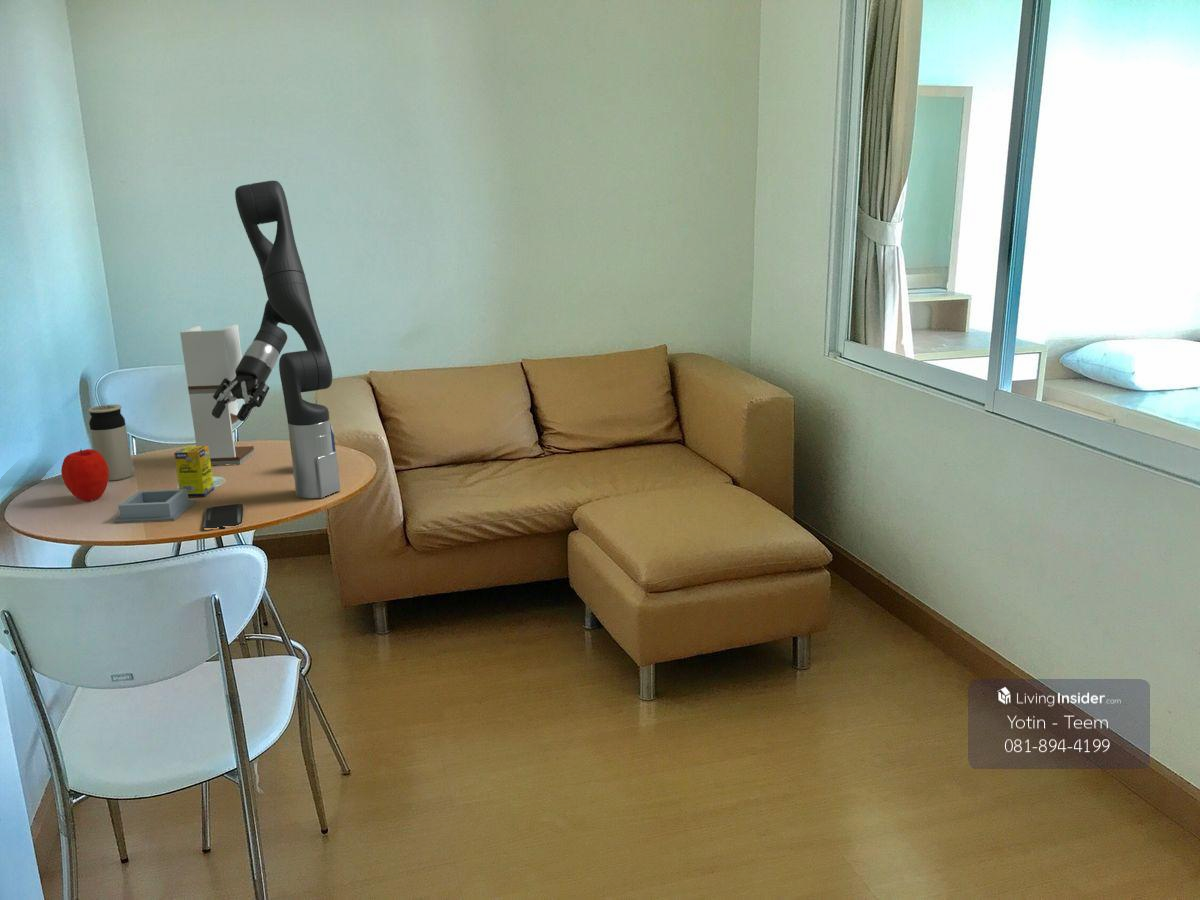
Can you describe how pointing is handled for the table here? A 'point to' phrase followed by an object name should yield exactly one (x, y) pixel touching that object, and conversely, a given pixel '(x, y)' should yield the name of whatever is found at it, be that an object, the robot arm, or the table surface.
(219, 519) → the phone
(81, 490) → the apple
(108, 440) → the travel mug
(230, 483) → the table surface
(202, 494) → the supplement box
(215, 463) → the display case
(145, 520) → the holder
